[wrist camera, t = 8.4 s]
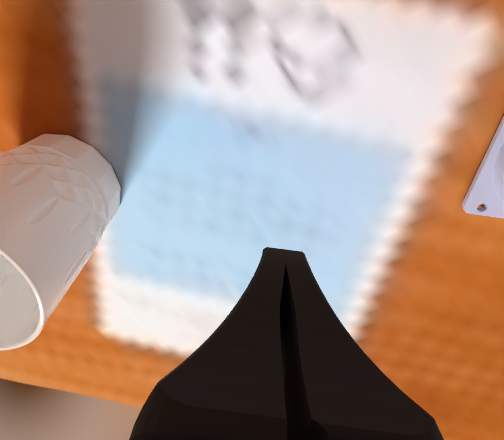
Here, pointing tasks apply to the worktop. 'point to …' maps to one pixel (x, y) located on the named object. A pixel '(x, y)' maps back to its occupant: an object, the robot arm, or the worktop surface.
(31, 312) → the white cup
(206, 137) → the worktop surface
